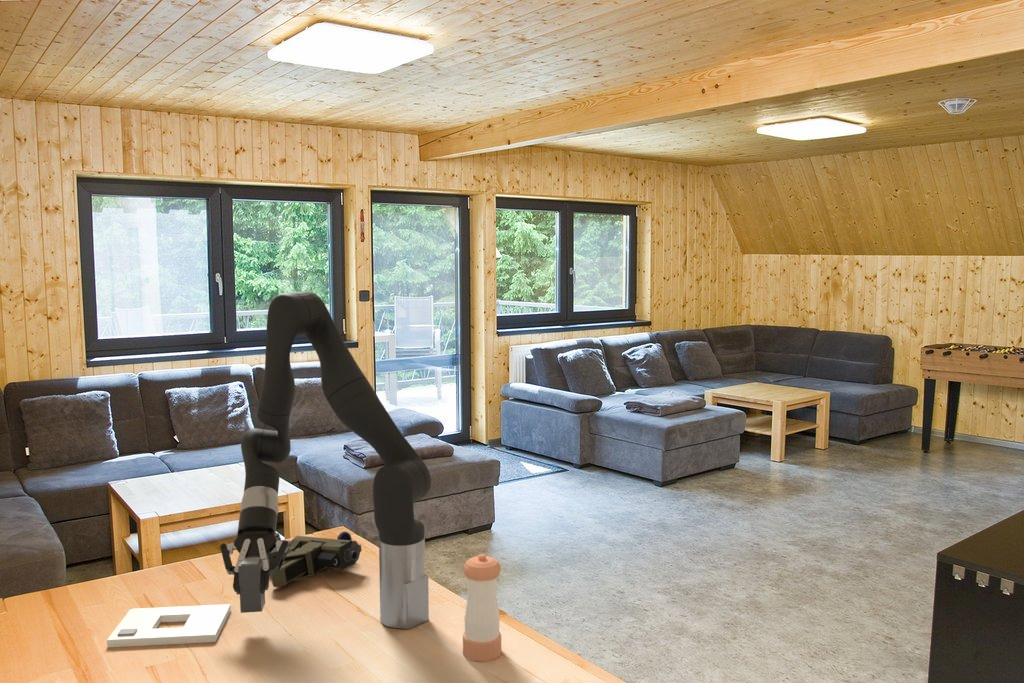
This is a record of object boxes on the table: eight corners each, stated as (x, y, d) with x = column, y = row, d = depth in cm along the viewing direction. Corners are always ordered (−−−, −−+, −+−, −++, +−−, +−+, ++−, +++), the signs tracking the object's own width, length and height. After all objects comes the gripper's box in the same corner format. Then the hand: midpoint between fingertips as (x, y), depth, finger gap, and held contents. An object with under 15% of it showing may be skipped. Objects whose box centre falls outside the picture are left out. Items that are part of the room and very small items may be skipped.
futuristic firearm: (305, 570, 181) (378, 529, 202) (206, 559, 197) (284, 521, 218) (310, 602, 182) (382, 558, 203) (212, 588, 197) (288, 548, 219)
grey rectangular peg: (265, 603, 170) (262, 556, 169) (261, 611, 166) (259, 563, 165) (244, 604, 169) (242, 557, 168) (240, 612, 165) (238, 564, 164)
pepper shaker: (476, 640, 164) (476, 545, 162) (508, 649, 160) (508, 552, 158) (455, 655, 158) (454, 557, 156) (488, 665, 154) (488, 564, 152)
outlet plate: (230, 610, 177) (230, 602, 177) (215, 642, 163) (215, 632, 163) (131, 615, 174) (130, 606, 174) (107, 647, 161) (106, 638, 160)
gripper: (220, 506, 172) (208, 586, 161) (291, 503, 174) (284, 582, 163) (227, 523, 178) (216, 602, 167) (295, 519, 179) (289, 597, 169)
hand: (250, 592), depth 165 cm, fingers closed on grey rectangular peg, 4 cm apart
